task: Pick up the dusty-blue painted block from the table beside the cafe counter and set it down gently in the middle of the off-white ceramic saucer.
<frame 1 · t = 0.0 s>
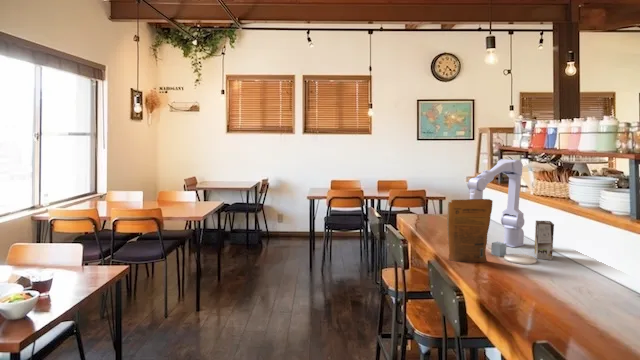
hand: (475, 231, 199), 10 cm above the counter, fingers open, 7 cm apart
coffee box: (543, 257, 192), on the counter
block: (498, 254, 197), on the counter
pancake mix bag: (467, 261, 186), on the counter
saucer: (520, 260, 187), on the counter
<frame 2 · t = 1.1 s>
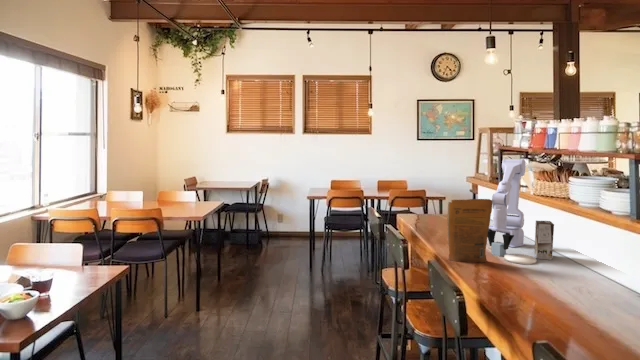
hand: (498, 247, 196), 3 cm above the counter, fingers open, 7 cm apart
nothing on the counter moved.
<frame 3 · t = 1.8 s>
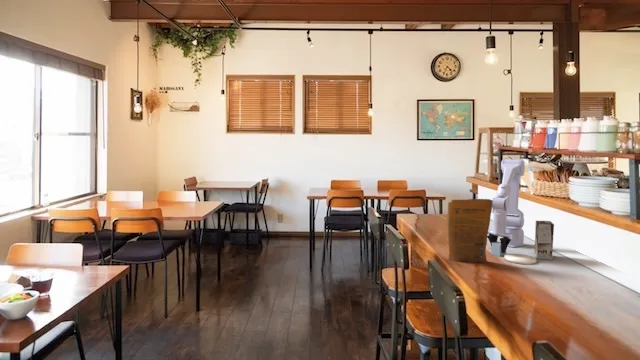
hand: (498, 251, 196), 1 cm above the counter, fingers closed on block, 4 cm apart
block: (498, 254, 197), on the counter, touching gripper
everything else where it was.
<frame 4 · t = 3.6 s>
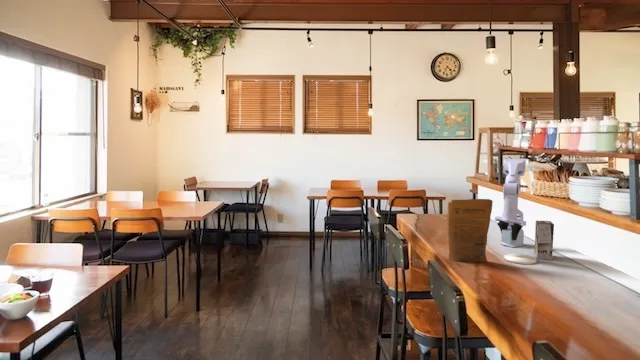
hand: (509, 238, 191), 8 cm above the counter, fingers closed on block, 4 cm apart
block: (508, 242, 191), point 7 cm above the counter, touching gripper
everything else where it was.
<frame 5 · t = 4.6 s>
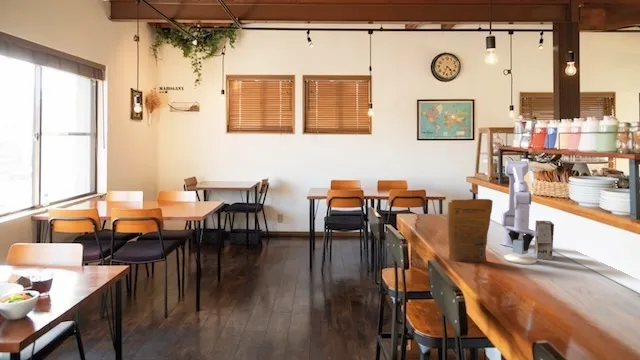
hand: (520, 249, 187), 5 cm above the counter, fingers closed on block, 4 cm apart
block: (520, 252, 187), point 3 cm above the counter, touching gripper
everything else where it was.
when the fingers open (4 cm above the counter, at t = 5.3 s): block stays where it is, resting on saucer.
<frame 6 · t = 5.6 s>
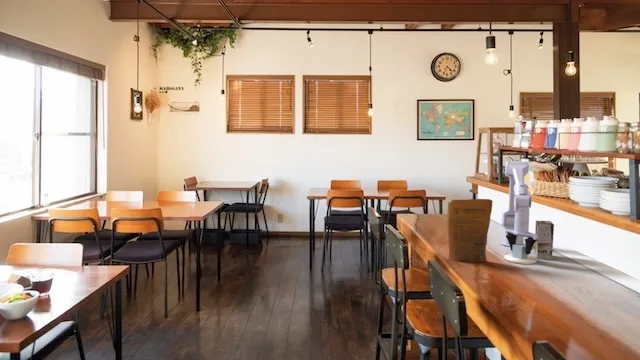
hand: (520, 252, 187), 4 cm above the counter, fingers open, 7 cm apart
block: (519, 257, 187), point 1 cm above the counter, touching saucer
everything else where it was.
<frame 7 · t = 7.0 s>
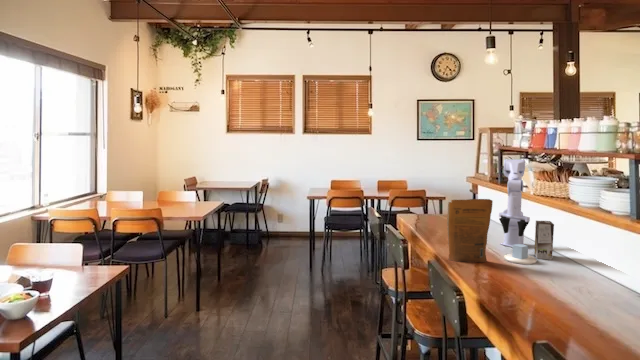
hand: (513, 234, 197), 9 cm above the counter, fingers open, 7 cm apart
nothing on the counter moved.
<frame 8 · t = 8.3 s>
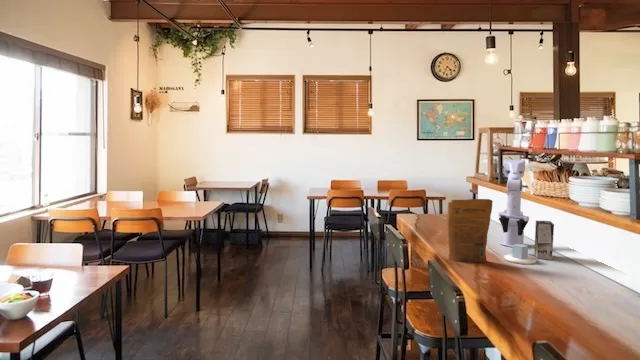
hand: (512, 233, 197), 9 cm above the counter, fingers open, 7 cm apart
nothing on the counter moved.
at the end: block inside the target area on the saucer (0.1 cm from its centre), point 1.2 cm above the saucer's base; block tilted 0°; the gripper is holding nothing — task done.
